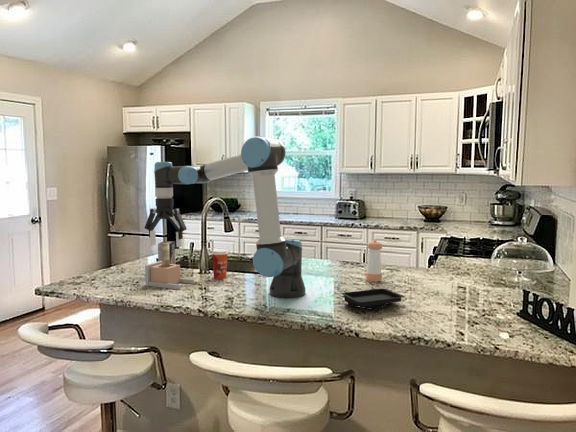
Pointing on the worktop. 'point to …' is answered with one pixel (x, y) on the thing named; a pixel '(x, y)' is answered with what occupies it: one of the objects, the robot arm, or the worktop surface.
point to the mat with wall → (158, 284)
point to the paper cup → (219, 263)
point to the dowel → (165, 255)
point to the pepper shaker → (374, 262)
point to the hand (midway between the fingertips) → (165, 245)
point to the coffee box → (171, 251)
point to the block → (166, 274)
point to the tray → (371, 298)
